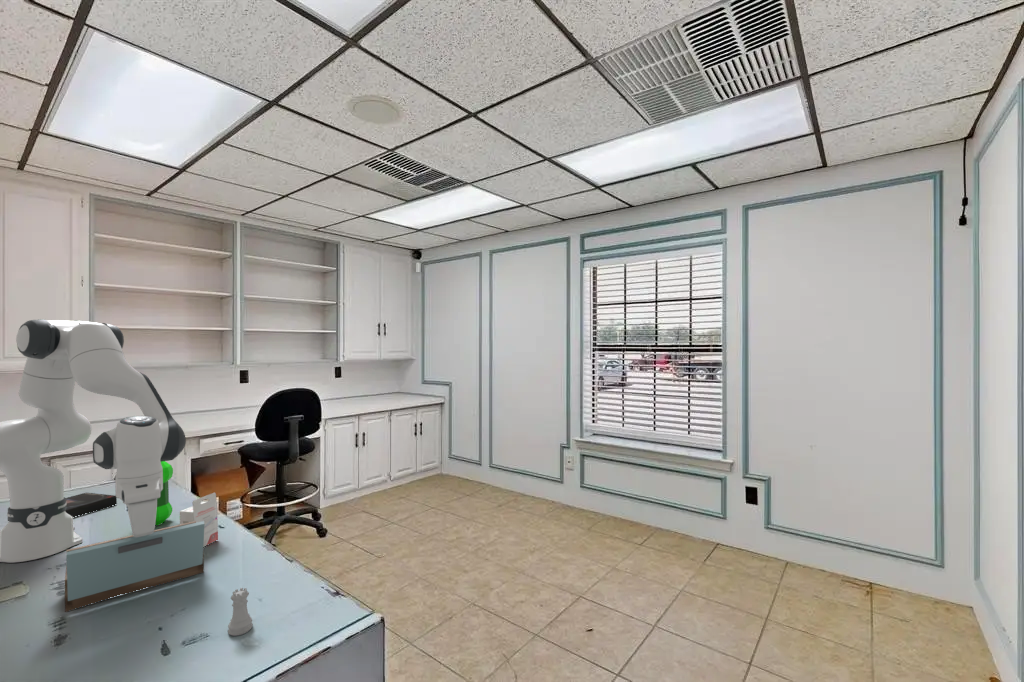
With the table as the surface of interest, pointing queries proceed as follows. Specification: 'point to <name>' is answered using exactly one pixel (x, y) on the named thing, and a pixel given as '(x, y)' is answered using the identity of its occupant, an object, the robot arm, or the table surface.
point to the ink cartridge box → (203, 516)
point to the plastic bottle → (164, 495)
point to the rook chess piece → (240, 614)
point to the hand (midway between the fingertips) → (140, 544)
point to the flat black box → (88, 503)
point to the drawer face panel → (133, 559)
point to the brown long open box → (130, 587)
